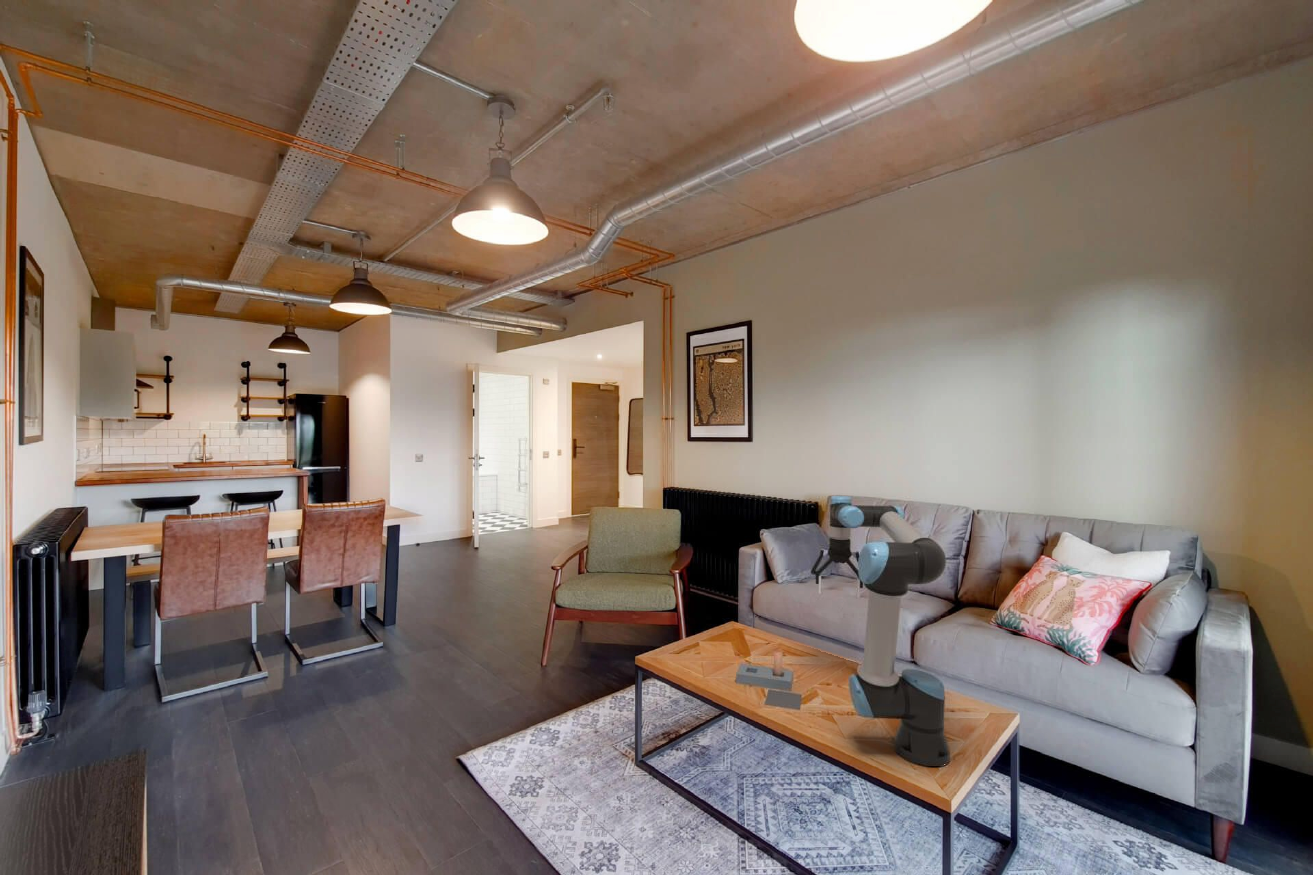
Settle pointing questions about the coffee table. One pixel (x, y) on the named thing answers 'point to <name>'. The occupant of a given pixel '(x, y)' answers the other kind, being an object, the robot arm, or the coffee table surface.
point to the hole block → (764, 677)
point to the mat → (783, 699)
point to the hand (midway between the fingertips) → (838, 594)
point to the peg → (778, 663)
